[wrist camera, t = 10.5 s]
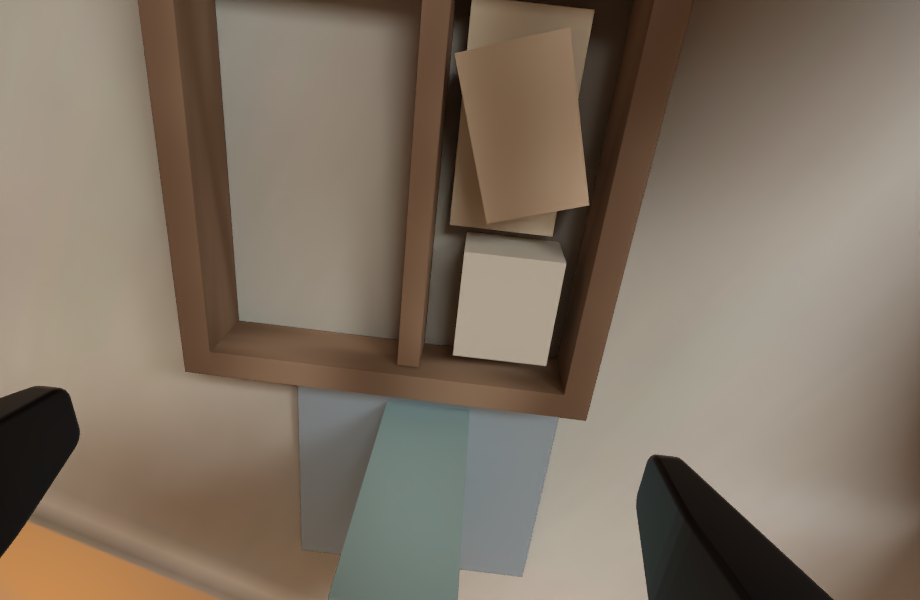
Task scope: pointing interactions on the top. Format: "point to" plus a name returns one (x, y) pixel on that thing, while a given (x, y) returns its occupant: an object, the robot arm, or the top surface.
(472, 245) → the offcut
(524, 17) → the offcut
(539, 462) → the mat
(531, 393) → the tray
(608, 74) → the top surface
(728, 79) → the top surface
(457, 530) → the tall sage green box
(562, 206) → the offcut
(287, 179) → the top surface
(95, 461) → the top surface
